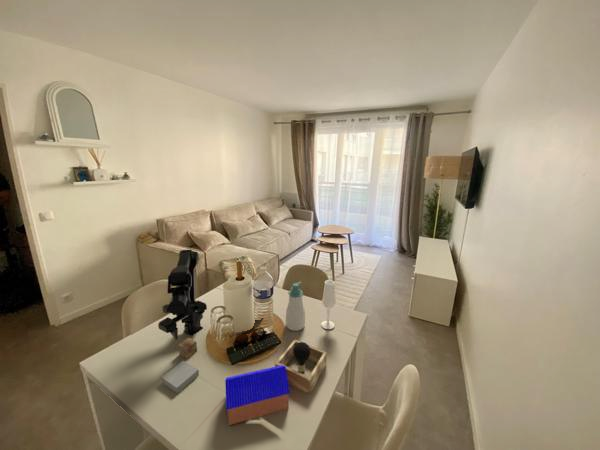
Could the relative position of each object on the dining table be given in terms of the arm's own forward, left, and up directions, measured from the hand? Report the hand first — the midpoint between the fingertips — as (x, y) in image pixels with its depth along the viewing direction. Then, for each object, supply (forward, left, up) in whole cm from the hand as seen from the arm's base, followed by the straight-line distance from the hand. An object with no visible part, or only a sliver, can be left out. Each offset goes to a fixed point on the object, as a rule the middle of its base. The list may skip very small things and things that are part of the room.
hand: (186, 332), depth 102 cm
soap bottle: (-39, +31, -10) cm, 51 cm away
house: (+3, +40, -10) cm, 41 cm away
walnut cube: (0, 0, -10) cm, 10 cm away
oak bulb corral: (-16, +47, -10) cm, 51 cm away
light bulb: (-16, +47, -10) cm, 51 cm away
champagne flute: (-47, +45, -10) cm, 66 cm away
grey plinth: (+10, +9, -10) cm, 17 cm away
